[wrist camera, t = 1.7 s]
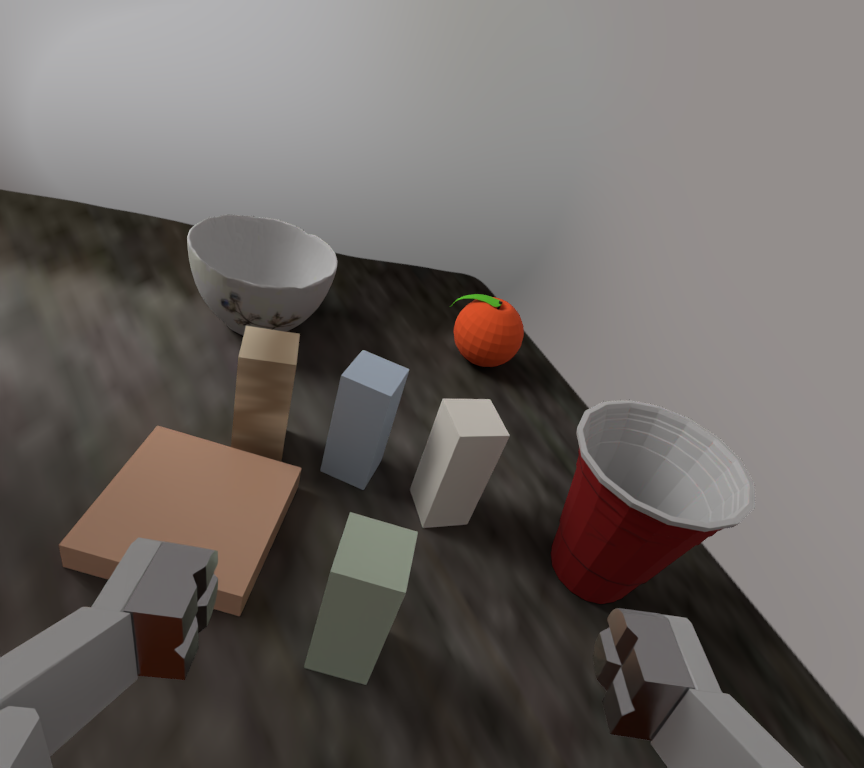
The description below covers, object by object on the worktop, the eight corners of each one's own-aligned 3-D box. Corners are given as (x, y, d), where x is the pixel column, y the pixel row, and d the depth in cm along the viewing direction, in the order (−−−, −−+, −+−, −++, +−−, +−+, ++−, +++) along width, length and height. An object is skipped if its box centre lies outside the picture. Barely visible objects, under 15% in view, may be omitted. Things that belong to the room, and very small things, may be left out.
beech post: (230, 458, 40) (238, 356, 35) (237, 424, 43) (245, 325, 38) (281, 462, 41) (296, 365, 36) (284, 429, 44) (299, 333, 39)
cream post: (422, 528, 40) (459, 436, 35) (409, 489, 43) (442, 398, 37) (467, 524, 42) (509, 435, 36) (452, 487, 44) (490, 399, 39)
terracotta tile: (62, 566, 31) (58, 545, 30) (157, 446, 40) (157, 425, 38) (240, 616, 32) (242, 596, 31) (297, 487, 40) (301, 468, 39)
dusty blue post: (320, 471, 42) (341, 375, 36) (340, 442, 45) (362, 349, 39) (363, 490, 41) (391, 396, 36) (381, 460, 44) (409, 369, 39)
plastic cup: (524, 488, 46) (586, 371, 39) (652, 539, 45) (739, 430, 38) (501, 600, 37) (577, 477, 30) (660, 666, 37) (775, 555, 30)
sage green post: (303, 667, 31) (330, 571, 25) (322, 609, 34) (350, 511, 28) (366, 685, 31) (405, 593, 26) (379, 625, 34) (417, 532, 28)
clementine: (426, 357, 57) (446, 296, 53) (448, 328, 62) (467, 270, 58) (500, 390, 56) (526, 330, 52) (516, 357, 61) (540, 301, 57)
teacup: (310, 377, 50) (325, 298, 45) (162, 343, 48) (161, 258, 43) (337, 294, 62) (351, 225, 57) (220, 265, 60) (224, 191, 55)
